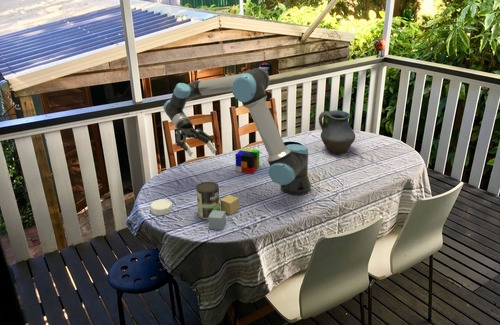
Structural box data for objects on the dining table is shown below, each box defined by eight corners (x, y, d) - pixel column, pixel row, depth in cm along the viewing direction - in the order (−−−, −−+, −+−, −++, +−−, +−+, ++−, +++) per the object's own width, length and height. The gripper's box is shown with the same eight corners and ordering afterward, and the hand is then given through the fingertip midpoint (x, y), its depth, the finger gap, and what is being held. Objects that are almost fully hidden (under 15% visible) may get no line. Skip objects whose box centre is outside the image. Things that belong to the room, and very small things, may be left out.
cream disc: (176, 211, 210) (175, 205, 209) (156, 218, 206) (155, 211, 204) (167, 203, 218) (166, 196, 217) (148, 209, 213) (147, 202, 212)
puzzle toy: (236, 171, 248) (235, 154, 244) (243, 164, 256) (242, 148, 252) (252, 174, 245) (252, 157, 240) (259, 166, 253) (259, 150, 249)
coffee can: (224, 211, 209) (223, 184, 203) (211, 221, 201) (209, 194, 195) (207, 206, 214) (205, 179, 208) (193, 215, 206) (191, 188, 200)
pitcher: (357, 158, 260) (360, 117, 250) (319, 158, 260) (321, 117, 250) (350, 144, 279) (353, 105, 268) (315, 145, 279) (316, 106, 269)
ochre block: (239, 209, 211) (238, 198, 208) (230, 214, 206) (230, 203, 204) (229, 205, 214) (228, 194, 211) (220, 210, 210) (220, 199, 207)
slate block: (226, 223, 200) (225, 211, 198) (222, 230, 195) (221, 218, 192) (213, 221, 201) (212, 210, 199) (209, 228, 196) (208, 217, 194)
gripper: (200, 128, 233) (221, 156, 222) (158, 131, 216) (178, 161, 206) (205, 117, 229) (226, 145, 218) (163, 119, 212) (183, 149, 202)
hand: (203, 153), depth 212 cm, fingers open, 13 cm apart
